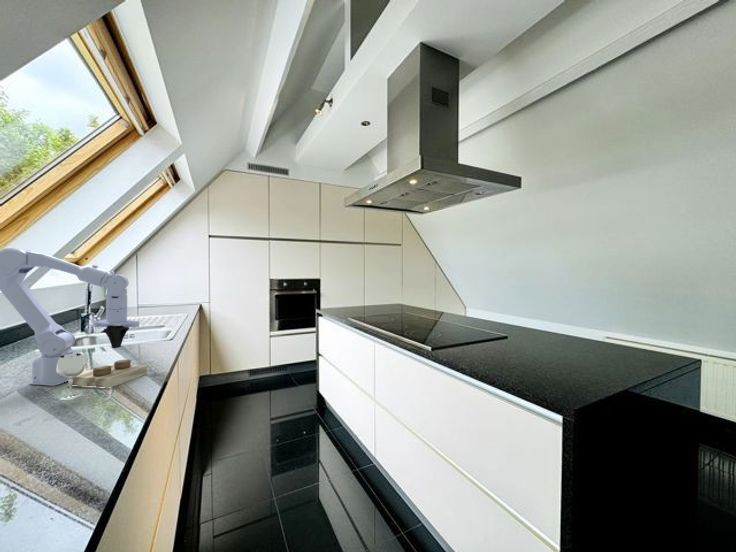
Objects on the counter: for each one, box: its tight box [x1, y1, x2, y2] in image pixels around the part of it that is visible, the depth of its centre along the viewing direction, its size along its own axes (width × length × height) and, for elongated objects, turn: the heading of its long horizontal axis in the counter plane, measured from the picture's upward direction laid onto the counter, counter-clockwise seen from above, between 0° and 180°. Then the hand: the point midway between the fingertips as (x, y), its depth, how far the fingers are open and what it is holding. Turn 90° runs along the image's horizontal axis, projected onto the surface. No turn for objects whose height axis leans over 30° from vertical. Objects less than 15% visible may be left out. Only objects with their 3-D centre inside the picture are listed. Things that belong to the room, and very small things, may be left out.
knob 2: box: [113, 359, 132, 369], centre depth 104 cm, size 4×4×5 cm
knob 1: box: [92, 364, 111, 376], centre depth 97 cm, size 4×4×5 cm
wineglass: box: [56, 352, 86, 398], centre depth 87 cm, size 6×6×12 cm
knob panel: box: [72, 363, 148, 389], centre depth 101 cm, size 14×14×3 cm
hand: (116, 347), depth 106 cm, fingers closed
